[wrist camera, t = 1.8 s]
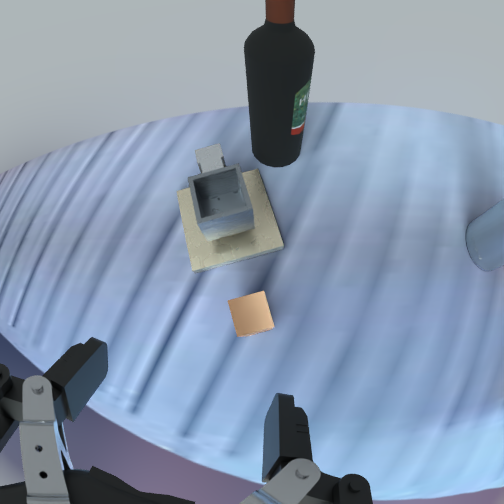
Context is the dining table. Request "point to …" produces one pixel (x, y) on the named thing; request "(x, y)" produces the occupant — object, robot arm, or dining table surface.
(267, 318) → the tan wooden block
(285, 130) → the wine bottle
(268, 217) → the cup bracket
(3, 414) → the robot arm
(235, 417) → the dining table surface
